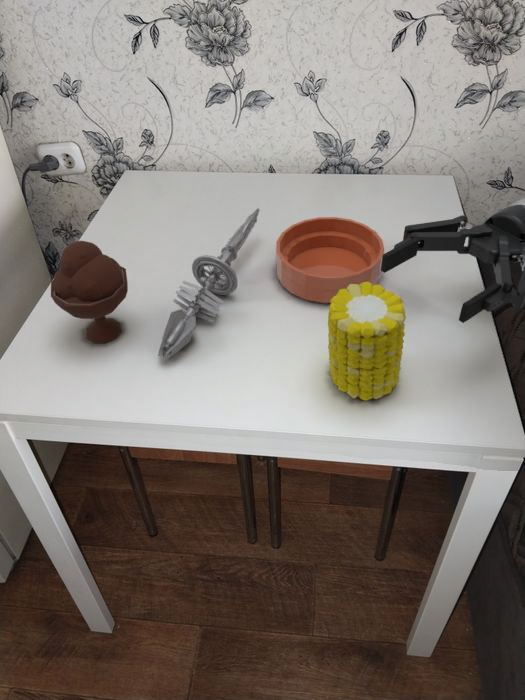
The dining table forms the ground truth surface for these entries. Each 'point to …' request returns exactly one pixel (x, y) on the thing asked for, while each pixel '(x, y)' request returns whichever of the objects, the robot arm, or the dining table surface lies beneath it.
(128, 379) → the dining table surface
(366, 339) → the food
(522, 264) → the robot arm
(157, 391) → the dining table surface
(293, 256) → the terracotta bowl
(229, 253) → the spaceship
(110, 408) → the dining table surface
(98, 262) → the ice cream bowl
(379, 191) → the dining table surface
